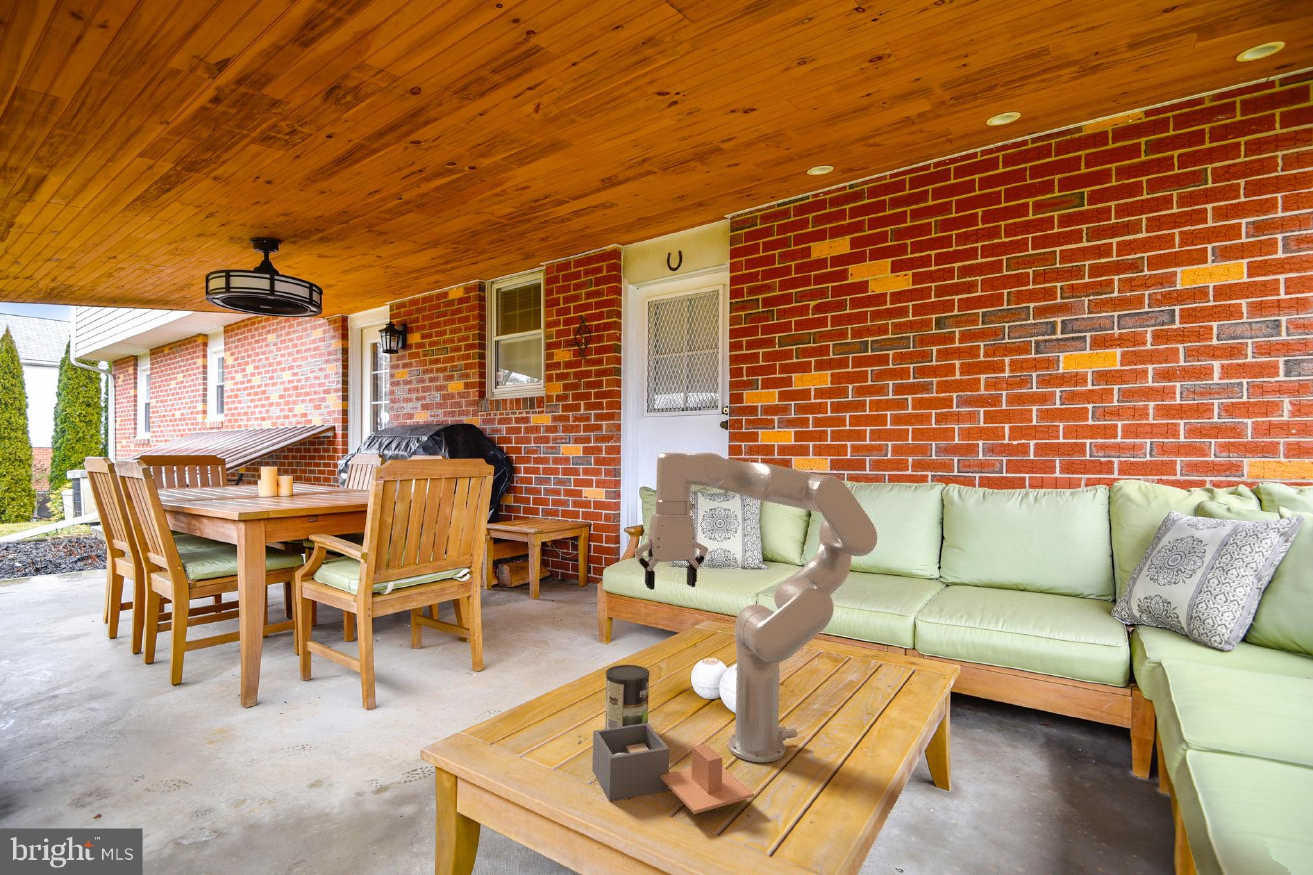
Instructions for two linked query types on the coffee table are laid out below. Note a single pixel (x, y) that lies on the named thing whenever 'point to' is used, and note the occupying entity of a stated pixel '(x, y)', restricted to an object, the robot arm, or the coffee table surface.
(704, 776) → the lid
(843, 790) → the coffee table surface
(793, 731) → the robot arm
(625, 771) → the storage box
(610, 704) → the coffee can
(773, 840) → the coffee table surface
